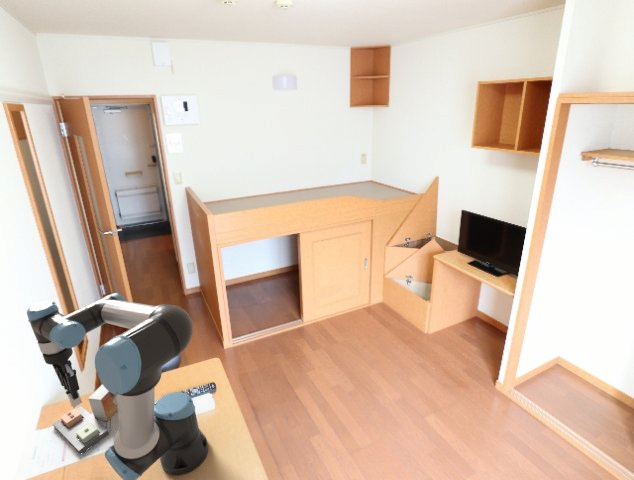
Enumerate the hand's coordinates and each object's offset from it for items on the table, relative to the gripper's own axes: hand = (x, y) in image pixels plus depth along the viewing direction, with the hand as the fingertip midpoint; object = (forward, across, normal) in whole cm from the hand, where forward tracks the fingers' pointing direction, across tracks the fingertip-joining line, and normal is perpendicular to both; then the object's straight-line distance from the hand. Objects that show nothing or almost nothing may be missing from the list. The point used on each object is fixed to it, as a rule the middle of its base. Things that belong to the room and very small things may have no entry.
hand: (76, 404), depth 127 cm
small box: (+16, +6, -10) cm, 20 cm away
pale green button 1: (+16, 0, 0) cm, 16 cm away
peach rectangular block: (+16, +12, 0) cm, 20 cm away
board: (+16, +6, 0) cm, 17 cm away
